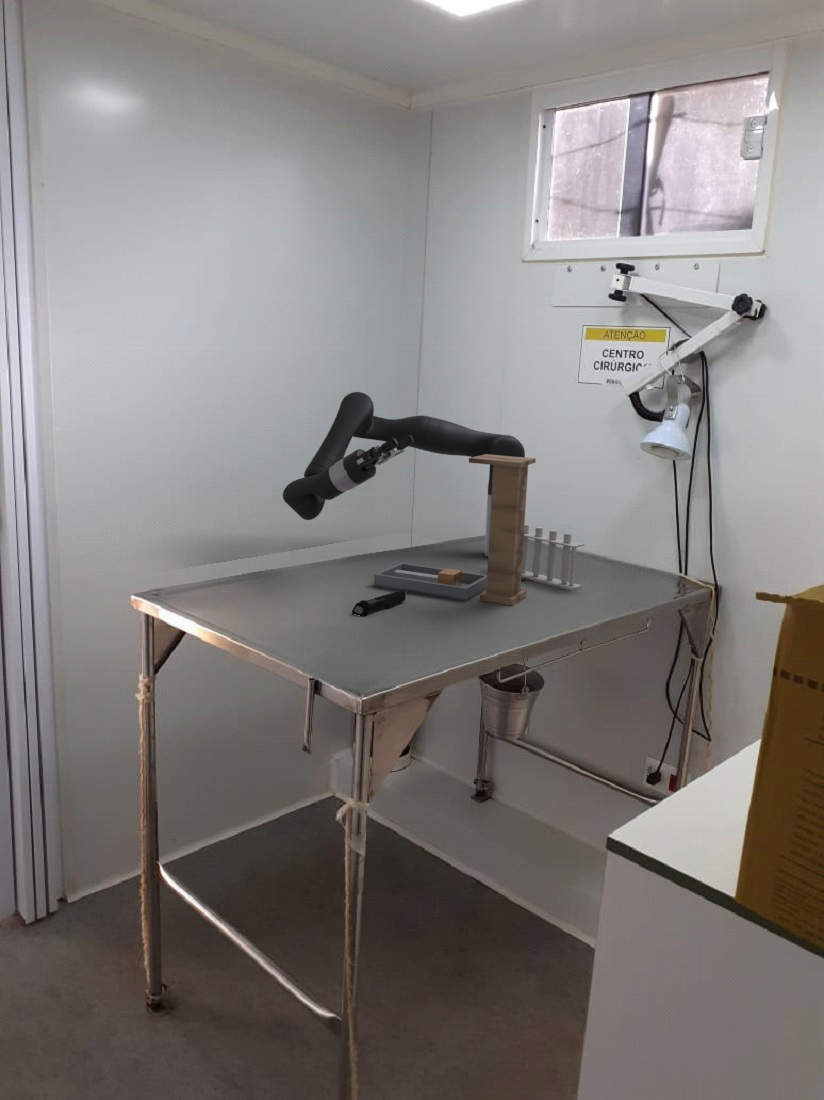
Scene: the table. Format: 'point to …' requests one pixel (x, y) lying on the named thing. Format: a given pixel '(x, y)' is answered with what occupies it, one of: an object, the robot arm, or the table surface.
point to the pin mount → (506, 527)
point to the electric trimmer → (378, 603)
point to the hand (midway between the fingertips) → (404, 440)
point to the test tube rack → (550, 558)
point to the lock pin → (433, 576)
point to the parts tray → (431, 583)
